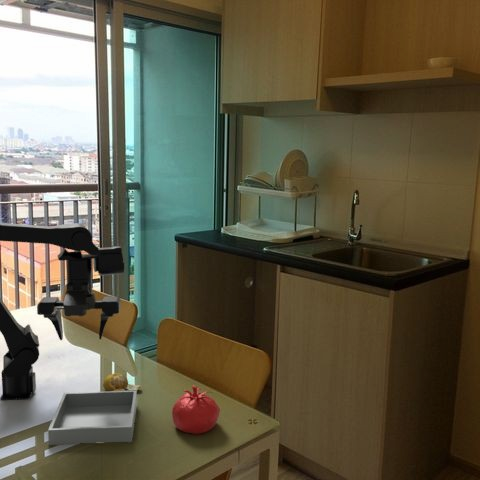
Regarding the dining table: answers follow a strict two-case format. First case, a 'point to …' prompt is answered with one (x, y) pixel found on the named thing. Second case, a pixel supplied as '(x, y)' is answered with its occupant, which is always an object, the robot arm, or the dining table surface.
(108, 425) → the serving bin
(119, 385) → the fruit
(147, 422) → the dining table surface
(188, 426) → the pomegranate
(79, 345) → the dining table surface
